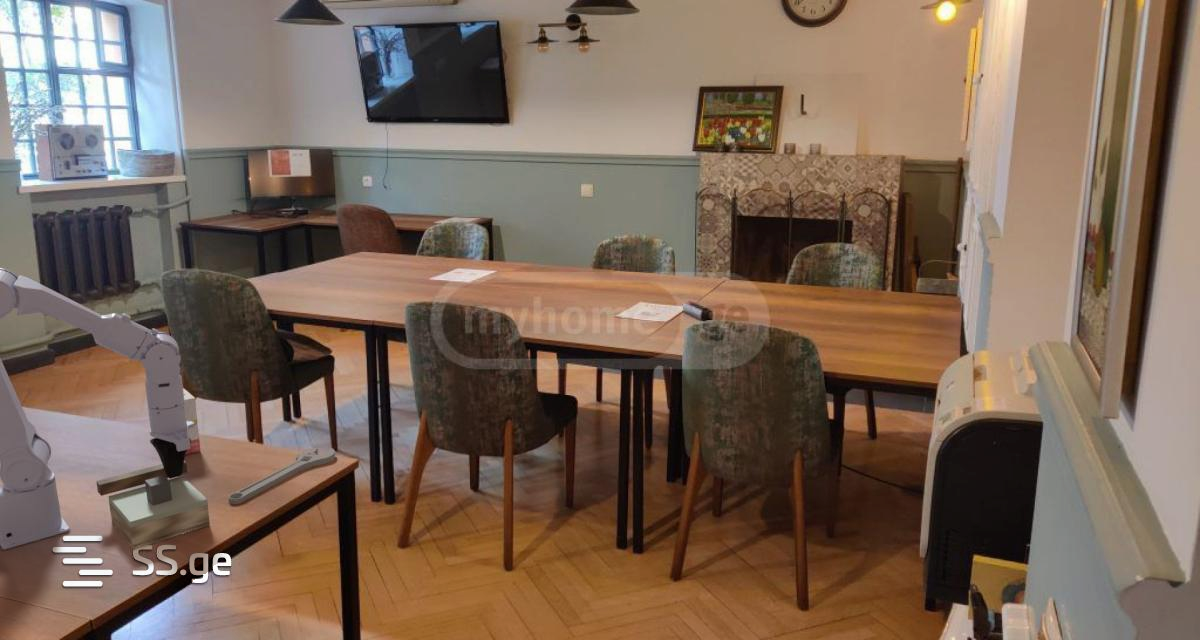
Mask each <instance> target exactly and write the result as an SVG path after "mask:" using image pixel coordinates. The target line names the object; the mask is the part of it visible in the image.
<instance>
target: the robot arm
mask: <svg viewBox="0 0 1200 640" xmlns="http://www.w3.org/2000/svg"><path fill="white" fill-rule="evenodd" d="M14 309H17V311H16V316H24V315H31V314H37V313H40V314H44V315H45V316H49V317H50V318H53V319H56V320H59V321H61V322H63V323H65V324H66V323H67V325H70V326H73V327H76V328H77V329H80V330H82V331H85V332H89V333H91V335H92V337H93V339H94V342H95V344H96V345H98V346H101V347H103V348H105V349H106V350H110V351H112V352H114V353H116V354H119V355H121V356H123V357H125V358H127V359H129V360H132V361H140V363H141V366H142V367H143V368H144V370H145V380H144V385H145V386H144V387H145V392H146V401H147V410H148V412H147V413H148V417H149V435H150V436H151V437H152V438H151V439H150V440H149V442H150V444H151V445H152V446H153V447H154V449H155V451H156V452H157V455H158V456H159V460H160V461H161V464H163V467H164V470H165V472H166V475H167V476H168V477H169V478H168V479H169V480H170V479H174V478H178V477H181V476H182V475H183V474H182V471H183V465H184V461H185V458H186V452H187V449H190V444H191V439H190V438H189V437H188V431H189V428H193V427H194V423H193V422H192V421H186V412H185V402H184V393H183V388H184V384H183V377H182V375H181V366H180V363H181V359H182V357H181V355H180V348H179V345H178V342H177V340H175V338H174V337H173V336H171V335H170V334H169V333H167V332H164V331H159V330H158V329H156V328H153V327H152V328H151V329H149V328H147V327H146V326H143V325H142V324H139V323H137V322H134V321H133V320H131V315H129V314H127V313H125V312H123V313H122V314H118V313H116V312H112V313H109V314H100V313H97V312H96V311H94V310H92V309H91V308H88V307H86V306H85V305H83V304H80V303H78V302H76V301H74V300H73V299H70V298H69V297H67V296H65V295H63V294H61V293H59V292H57V291H55V290H53V289H51V288H49V287H47V286H45V285H43V284H41V283H39V282H37V281H36V280H33V279H32V278H29V277H28V276H25V275H17V274H15V273H14V272H12V271H11V270H9V269H6V268H2V267H0V321H1V320H2V319H4V318H5V317H6V316H7V315H9V314H10V313H11V312H12V311H13V310H14ZM26 415H27V414H26V413H25V411H24V408H23V406H22V404H21V402H20V400H19V398H18V394H17V392H16V390H15V388H14V386H13V383H12V382H11V378H10V377H9V375H8V372H7V370H6V367H5V365H4V363H3V360H2V359H1V357H0V480H1V482H2V486H0V546H1V549H2V550H8V549H11V548H15V547H18V546H22V545H26V544H29V543H32V542H36V541H39V540H43V539H46V538H50V537H54V536H57V535H60V534H64V533H67V532H69V531H70V527H69V525H68V523H67V522H66V520H65V519H64V518H63V517H62V514H61V507H60V502H59V495H58V487H57V482H56V476H55V475H56V474H55V473H54V471H53V470H51V469H50V468H49V466H48V463H49V460H50V459H51V458H50V457H51V455H52V446H51V445H50V443H49V441H48V440H47V439H45V438H43V437H42V436H41V435H39V434H38V431H37V429H36V426H34V425H33V424H32V423H31V422H30V421H29V420H28V418H27V416H26Z"/></svg>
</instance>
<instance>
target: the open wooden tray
mask: <svg viewBox="0 0 1200 640" xmlns="http://www.w3.org/2000/svg"><path fill="white" fill-rule="evenodd" d="M108 504H109V512H110V518H111V523H112V525H113V524H114V525H115V526H116V527H115V526H114V525H113V526H114V527H115V529H118V530H119V531H118V530H117V531H118V532H119V533H120V534H121V536H122V537H123V538H124V540H126V542H127V543H128V544H129V546H130V547H131V548H132V550H137V549H140V548H143V547H146V545H147V546H149V545H152V544H155V542H156V543H159V542H162V541H161V540H163V541H165V539H166V540H169V539H172V538H175V537H178V536H180V535H179V534H182V533H185V534H187V533H186V532H188V533H190V532H189V531H191V532H193V531H192V530H194V531H197V530H196V529H198V530H200V529H199V528H201V529H203V528H202V527H204V528H206V526H207V527H209V526H208V525H210V526H211V524H210V522H211V521H210V516H209V514H210V513H209V505H205V506H202V507H198V508H195V509H192V510H188V511H185V512H181V513H178V514H175V515H171V516H168V517H165V518H161V519H158V520H155V521H151V522H148V523H144V524H141V525H138V526H134V527H130V526H129V525H128V524H127V522H126V521H125V520H124V519H123V518H122V516H121V515H120V514H119V513H118V512H117V510H116V509H115V508H114V507H113V506H112V505H111V503H110V502H109V501H108ZM177 535H178V536H177ZM182 535H183V534H182ZM174 536H175V537H174ZM171 537H172V538H171ZM168 538H169V539H168ZM158 541H159V542H158ZM139 547H140V548H139ZM136 548H137V549H136Z"/></svg>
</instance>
